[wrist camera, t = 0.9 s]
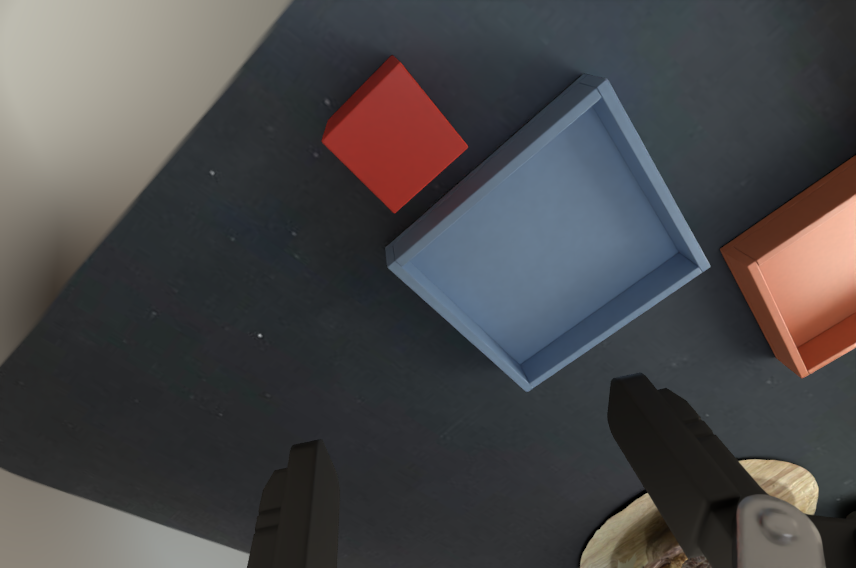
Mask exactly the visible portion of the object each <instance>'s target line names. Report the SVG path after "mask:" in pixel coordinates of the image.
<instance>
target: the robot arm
mask: <svg viewBox="0 0 856 568" xmlns="http://www.w3.org/2000/svg"><path fill="white" fill-rule="evenodd" d="M607 417H608V424H609V427H610V430H611V433H612V435H613V437H614V439H615V440H616V442H617V444H618V445H619V447H620V449H621V450H622V452H623V453H624V455H625V457H626V458H627V460H628V462H629V463H630V465H631V466H632V468H633V470H634V471H635V473H636V475H637V476H638V478H639V480H640V481H641V483H642V484H643V486H644V488H645V489H646V491H647V493H648V494H649V496H650V498H651V499H652V501H653V502H654V504H655V506H656V507H657V509H658V511H659V512H660V514H661V516H662V517H663V519H664V520H665V522H666V524H667V525H668V527H669V529H670V530H671V532H672V534H673V535H674V537H675V538H676V540H677V542H678V543H679V545H680V547H681V548H682V550H683V552H684V553H685V555H686V556H687V558H688V559H690V558H695V557H699V556H703V555H704V556H705V557H706V559H707V560H708V562H709V564H710V565H711V567H712V568H856V520H852V519H842V518H833V517H824V516H815V515H809V514H805V513H803V512H802V511H800V510H799V509H798V508H796V507H795V506H793V505H792V504H790V503H788V502H786V501H784V500H782V499H779V498H777V497H773V496H770V495H769V494H768V493H766V492H765V491H764V490H763V489H762V488H761V487H760V486H759V485H758V483H757V482H756V481H755V480H754V479H753V478H752V476H751V475H750V474H749V473H748V472H747V471H746V469H745V468H744V467H743V466H742V465H741V464H740V463H739V461H738V460H737V459H736V458H735V457H734V456H733V454H732V453H731V452H730V451H729V450H728V449H727V447H726V446H725V445H724V444H723V443H722V442H721V440H720V439H719V438H718V437H717V436H716V435H714V434H713V432H712V430H711V429H710V428H709V427H708V425H707V424H706V423H705V422H704V421H702V420H701V417H700V416H699V415H698V414H697V413H696V411H695V410H694V409H693V408H692V407H691V406H690V405H689V403H688V402H687V401H686V400H684V399H683V398H681V397H680V396H678V395H677V394H675V393H673V392H672V391H670V390H669V389H667V388H664V389H660V390H657V389H656V388H655V387H654V385H653V384H652V383H651V382H650V381H649V379H648V378H647V377H646V376H645V375H644V374H642V373H636V374H631V375H626V376H622V377H617V378H613V379H612V381H611V386H610V395H609V405H608V414H607ZM339 502H340V490H339V481H338V476H337V473H336V470H335V468H334V466H333V463H332V461H331V459H330V456H329V454H328V452H327V449H326V447H325V445H324V443H323V441H322V440H321V439H319V440H314V441H310V442H305V443H300V444H295V445H293V446H292V447H291V450H290V456H289V462H288V468H284V469H280V470H275V471H274V473H273V474H272V476H271V478H270V479H269V481H268V483H267V485H266V486H265V488H264V490H263V493H262V498H261V502H260V507H259V516H258V517H257V522H256V527H255V534H254V537H253V541H252V546H251V551H250V556H249V561H248V566H247V568H337V550H338V526H339Z"/></svg>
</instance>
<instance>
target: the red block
mask: <svg viewBox="0 0 856 568" xmlns="http://www.w3.org/2000/svg"><path fill="white" fill-rule="evenodd" d="M322 143H323V144H324V145H325V146H326V147H327V148H328V149H329V150H330V151H331V152H332V153H333V154H334V155H335V156H336V157H337V158H338V159H339V160H340V161H341V162H342V163H343V164H344V165H345V166H346V167H347V168H349V169H350V170H351V171H352V172H353V173H354V174H355V175H356V176H357V177H358V178H359V179H360V180H361V181H362V182H363V183H364V184H365V185H366V186H367V187H368V188H369V189H370V190H371V191H372V192H373V193H374V194H375V195H376V196H377V197H378V198H379V199H380V200H381V201H382V202H383V203H384V204H385V205H386V206H387V207H388V208H389V209H390V210H391V211H392V212H393V213H396V212H397V211H398V210H399V209H400V208H402V207H403V206H404V205H405V204H406V203H407V202H408V201H409V200H410V199H412V198H413V197H414V196H415V195H416V194H417V193H418V192H419V191H421V190H422V189H423V188H424V187H425V186H426V185H427V184H428V183H429V182H431V181H432V180H433V179H434V178H435V177H436V176H437V175H438V174H439V173H441V172H442V171H443V170H444V169H445V168H446V167H447V166H448V165H450V164H451V163H452V162H453V161H454V160H455V159H456V158H457V157H458V156H460V155H461V154H462V153H463V152H464V151H465V150H466V149H467V148H468V145H467V144H466V143H465V142H464V140H463V139H462V138H461V137H460V135H459V134H458V133H457V132H456V130H455V129H454V128H453V127H452V125H451V124H450V123H449V122H448V120H447V119H446V118H445V117H444V115H443V114H442V113H441V112H440V110H439V109H438V108H437V107H436V106H435V104H434V103H433V102H432V101H431V99H430V98H429V97H428V96H427V94H426V93H425V92H424V91H423V89H422V88H421V87H420V86H419V84H418V83H417V82H416V81H415V79H414V78H413V77H412V76H411V74H410V73H409V72H408V71H407V69H406V68H405V67H404V66H403V65H402V63H401V62H400V61H399V60H398V59H396V58H395V57H394V56H393V55H391V56H390V57H389V58H388V59H387V60H386V61H385V62H384V63H383V64H382V65H381V66H380V67H379V68H378V69H377V70H376V71H375V72H374V73H373V75H372V76H371V77H370V78H369V79H368V80H367V81H366V82H365V83H364V84H363V85H362V86H361V87H360V88H359V89H358V90H357V91H356V92H355V93H354V94H353V95H352V96H351V97H350V98H349V99H348V100H347V101H346V102H345V103H344V104H343V105H342V106H341V107H340V108H339V109H338V110H337V111H336V112H335V113H334V114H333V115H332V116H331V117H330V119H329V120H328V122H327V125H326V128H325V131H324V134H323V138H322Z"/></svg>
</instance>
